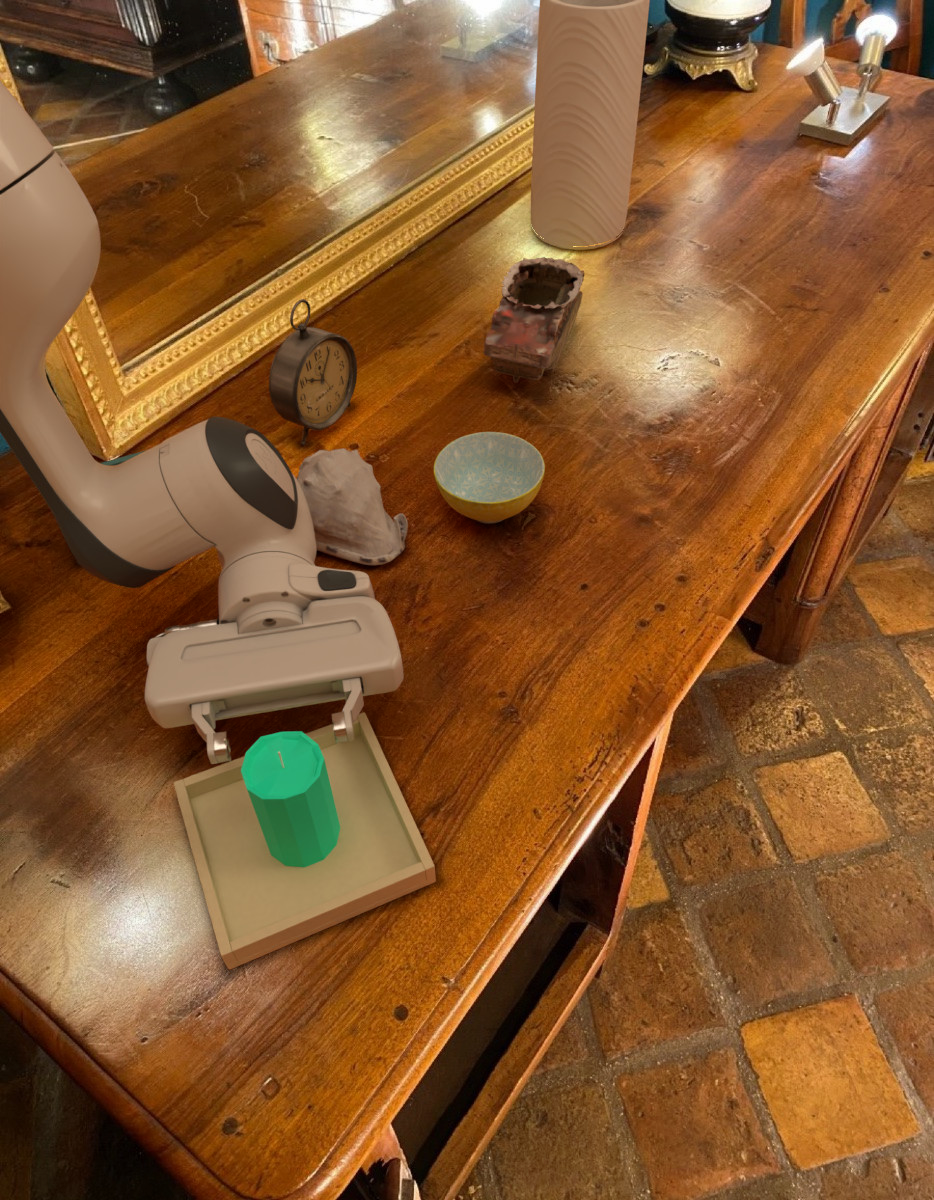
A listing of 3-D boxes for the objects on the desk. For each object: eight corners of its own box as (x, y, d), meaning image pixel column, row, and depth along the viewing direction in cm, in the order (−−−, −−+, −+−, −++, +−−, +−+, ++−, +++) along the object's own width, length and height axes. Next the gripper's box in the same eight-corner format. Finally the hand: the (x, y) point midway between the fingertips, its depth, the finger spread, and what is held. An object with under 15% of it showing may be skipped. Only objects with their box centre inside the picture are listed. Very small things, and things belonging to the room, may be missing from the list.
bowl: (432, 478, 106) (429, 434, 101) (534, 471, 106) (536, 427, 101) (439, 550, 98) (437, 506, 93) (549, 542, 99) (552, 498, 94)
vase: (643, 226, 143) (675, -14, 119) (587, 264, 136) (608, 17, 112) (568, 198, 149) (583, -35, 125) (510, 232, 142) (514, -8, 118)
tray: (228, 970, 70) (220, 956, 68) (181, 799, 79) (173, 782, 77) (436, 882, 74) (434, 866, 72) (367, 729, 83) (364, 711, 81)
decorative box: (617, 330, 124) (626, 262, 117) (566, 418, 112) (571, 348, 105) (524, 309, 128) (526, 242, 121) (464, 392, 116) (463, 322, 109)
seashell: (397, 576, 96) (390, 504, 88) (270, 551, 98) (252, 478, 91) (433, 497, 103) (429, 424, 96) (314, 476, 106) (301, 403, 99)
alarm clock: (307, 456, 108) (284, 332, 96) (271, 440, 110) (244, 317, 98) (365, 406, 114) (350, 284, 102) (329, 392, 116) (311, 270, 104)
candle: (343, 861, 74) (324, 782, 65) (266, 873, 74) (236, 795, 65) (337, 794, 78) (318, 711, 69) (264, 805, 78) (236, 723, 69)
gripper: (137, 606, 77) (130, 748, 68) (386, 569, 79) (411, 702, 70) (157, 654, 82) (153, 793, 73) (391, 618, 84) (415, 748, 75)
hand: (282, 748), depth 72 cm, fingers open, 8 cm apart
